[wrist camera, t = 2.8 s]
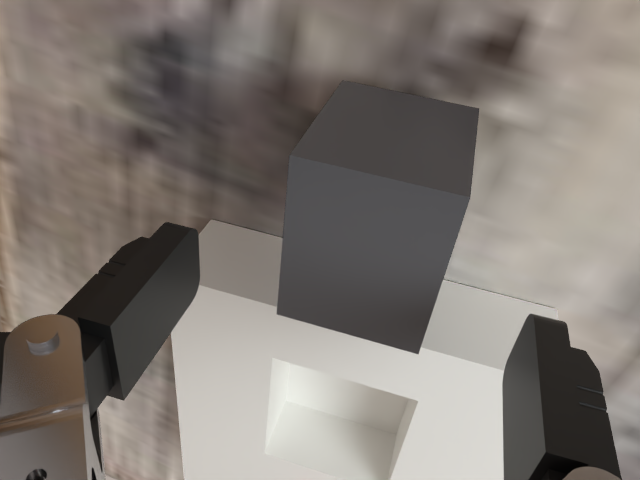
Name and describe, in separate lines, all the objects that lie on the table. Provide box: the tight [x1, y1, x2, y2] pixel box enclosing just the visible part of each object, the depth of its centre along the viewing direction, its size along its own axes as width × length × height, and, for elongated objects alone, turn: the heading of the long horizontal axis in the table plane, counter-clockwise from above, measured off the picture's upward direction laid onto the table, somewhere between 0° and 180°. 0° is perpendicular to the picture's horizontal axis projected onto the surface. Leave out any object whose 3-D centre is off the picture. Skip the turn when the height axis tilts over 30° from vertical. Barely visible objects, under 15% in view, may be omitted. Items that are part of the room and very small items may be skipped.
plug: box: [277, 80, 479, 354], centre depth 16 cm, size 5×4×6 cm
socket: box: [171, 219, 558, 480], centre depth 24 cm, size 16×14×5 cm
